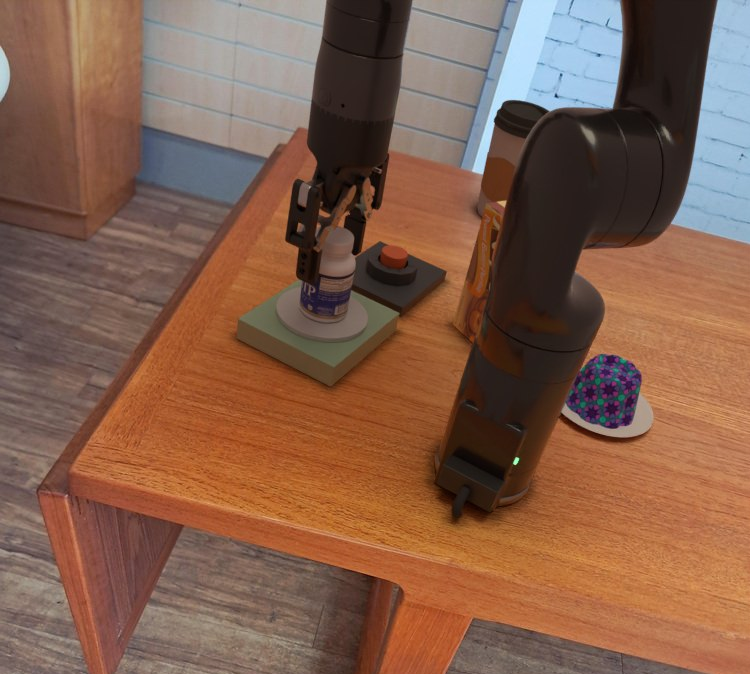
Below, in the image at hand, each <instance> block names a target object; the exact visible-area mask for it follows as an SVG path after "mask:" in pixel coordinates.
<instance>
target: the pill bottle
mask: <svg viewBox="0 0 750 674" xmlns="http://www.w3.org/2000/svg"><path fill="white" fill-rule="evenodd" d="M320 227H321V226H320V225H319V226H317V228H316V234H315V237H316V236H317V234H318V232H319V229H320ZM343 227H344V226H340V225H338V226H337V228H336V229H335V230H334V231H330V232H329V234H328V236H327V238H326V240H325V242H324V245H323V247H322V256H321V263H320V270H319V277H318V281H317V282H316V283H314V284H312V285H310V284H308V283H306V282H304V281H302V286H301V294H300V303H299V306H300V309H301V311H302V313H303V314H304V315H306V316H307V317H309V318H310V319H313V320H315V321H319V322H324V323H332V322H337V321H340V320H342V319H343V318H344V317H345V316H346V314H347V311H348V306H349V299H350V294H351V288H352V283H353V278H354V273H355V266H356V261H355V256H354V255H353V254H352V253H351V252H352V249H353V244H354V235H353V234H352V233H351V232H350V231H349V230H347V229H345V228H343Z"/></svg>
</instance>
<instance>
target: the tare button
mask: <svg viewBox="0 0 750 674" xmlns="http://www.w3.org/2000/svg"><path fill="white" fill-rule="evenodd" d="M408 254H409V253H408V251H407V250H406V249H404V248H403V247H401V246H398V245H391V244H388V246H385V247H383V248H382V252H381V257H380V263H381V264H382V265H384V266H386V267H389V268H394V269H402V268H405V266H406V261H407V257H408Z"/></svg>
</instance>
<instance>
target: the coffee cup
mask: <svg viewBox="0 0 750 674" xmlns="http://www.w3.org/2000/svg"><path fill="white" fill-rule="evenodd" d="M550 111H551V110H549V109H547V108H545V107H543V106H541V105H539V104H536V103H533V102H530V101H525V100H520V99H507V100H504V101H503V102H502V104H501V106H500V108H498V109H497V111H496V114H495V116H494V118H493V123H494V124H493V125H494V126H493V128H492V134H491V138H490V142H489V143H490V144H489V147H488V151H487V155H486V159H485V164H484V169H483V173H482V177H481V182H480V189H479V195H478V198H477V204H476V208H477V213H478V215H479V216H480V217H482V218H483V214H484V210H485V206H486V204H487V203H492V202H498V201H506V200H507V197H508V193H509V188H510V184H511V180H512V177H513V173H514V170H515V166H516V163H517V160H518V157H519V154H520V151H521V149H522V147H523V145H524V143H525V140H526V138H527V136H528V135H529V133H530V132H531V130H532V128H533V127H534V126H535V124H536V123H537V122H538V121H539V120H540V119H541V118H542V117H543V116H544V115H545V114H547V113H548V112H550Z"/></svg>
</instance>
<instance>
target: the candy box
mask: <svg viewBox="0 0 750 674" xmlns="http://www.w3.org/2000/svg"><path fill="white" fill-rule="evenodd" d="M506 201H507V200H506ZM506 201H498V202H492V203H487V204H486V206H485V210H484V214H483V217H482V218H481V222H480V225H479V228H478V232H477V236H476V239H475V243H474V247H473V251H472V254H471V258H470V260H469V265H468V268H467V272H466V275H465V278H464V283H463V285H462V286H463V287H462V290H461V294H460V297H459V301H458V305H457V308H456V311H455V314H454V319H453V322H452V325H453V326H454V327H455V328H456V329H457V330H458V331H459V332H460V333H461V334H462V336H465V337H466V338H467V339H468V340H469V342H471V343H472V344H473V341H474V338H475V334H476V332H477V329H478V326H479V323H480V319H481V316H482V313H483V310H484V307H485V304H486V301H487V297H488V294H489V291H490V282H491V263H492V256H493V251H494V247H495V243H496V240H497V236H498V232H499V228H500V224H501V221H502V217H503V213H504V209H505V205H506Z"/></svg>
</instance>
